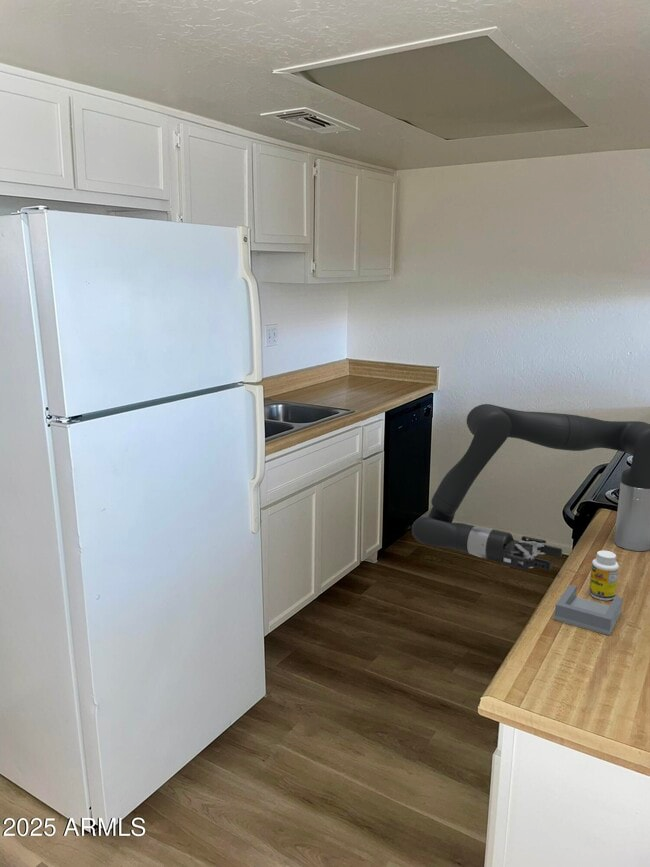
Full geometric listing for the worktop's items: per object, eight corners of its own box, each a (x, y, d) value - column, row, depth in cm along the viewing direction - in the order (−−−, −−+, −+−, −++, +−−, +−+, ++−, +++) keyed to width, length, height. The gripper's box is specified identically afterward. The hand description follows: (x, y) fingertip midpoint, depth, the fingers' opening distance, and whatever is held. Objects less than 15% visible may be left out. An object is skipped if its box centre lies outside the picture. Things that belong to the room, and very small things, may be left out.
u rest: (568, 598, 148) (569, 584, 147) (620, 613, 142) (622, 598, 141) (554, 619, 139) (555, 604, 138) (609, 635, 133) (611, 619, 132)
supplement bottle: (583, 591, 151) (587, 550, 149) (603, 588, 153) (608, 547, 150) (600, 603, 146) (604, 560, 144) (620, 599, 148) (625, 557, 145)
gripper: (479, 539, 156) (548, 555, 147) (501, 521, 168) (566, 535, 159) (477, 568, 158) (545, 586, 149) (499, 548, 170) (563, 563, 161)
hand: (556, 559), depth 154 cm, fingers open, 8 cm apart
